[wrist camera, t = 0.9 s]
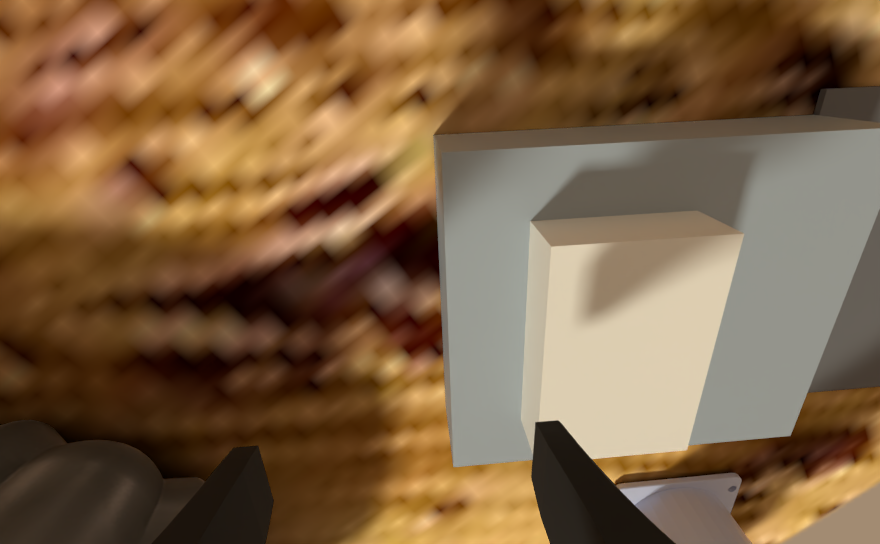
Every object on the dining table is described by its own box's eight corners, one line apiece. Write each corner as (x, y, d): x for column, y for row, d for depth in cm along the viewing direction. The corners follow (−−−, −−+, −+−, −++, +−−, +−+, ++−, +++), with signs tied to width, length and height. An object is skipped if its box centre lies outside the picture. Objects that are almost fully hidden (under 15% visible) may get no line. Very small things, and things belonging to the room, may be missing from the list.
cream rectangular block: (655, 407, 20) (686, 450, 17) (520, 419, 19) (535, 464, 17) (697, 210, 16) (744, 233, 14) (530, 221, 15) (551, 246, 13)
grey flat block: (733, 381, 25) (790, 435, 21) (445, 406, 24) (453, 467, 20) (812, 114, 19) (912, 126, 15) (433, 134, 18) (441, 152, 14)
